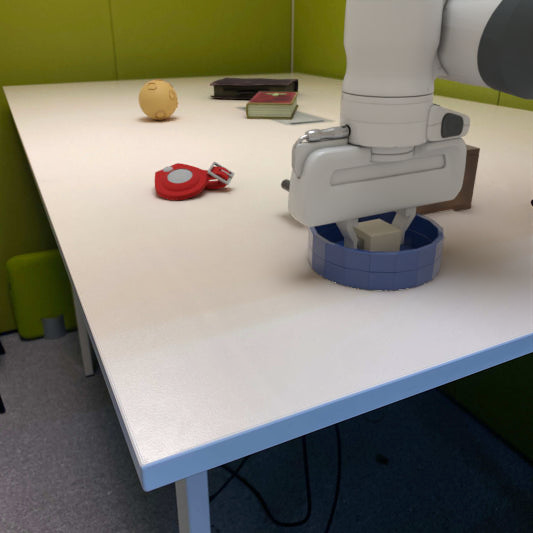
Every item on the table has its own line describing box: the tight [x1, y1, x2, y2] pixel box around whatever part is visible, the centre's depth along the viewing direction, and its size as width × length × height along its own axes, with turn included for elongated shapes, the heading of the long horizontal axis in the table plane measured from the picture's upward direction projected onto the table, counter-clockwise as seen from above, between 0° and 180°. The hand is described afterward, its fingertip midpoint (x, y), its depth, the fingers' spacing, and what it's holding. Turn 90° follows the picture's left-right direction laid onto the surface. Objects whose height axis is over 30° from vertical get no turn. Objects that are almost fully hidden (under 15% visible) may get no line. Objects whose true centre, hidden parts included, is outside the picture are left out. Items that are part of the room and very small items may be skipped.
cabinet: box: [416, 144, 481, 216], centre depth 78 cm, size 14×12×9 cm
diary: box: [209, 77, 299, 100], centre depth 177 cm, size 19×25×5 cm
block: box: [353, 219, 402, 252], centre depth 60 cm, size 4×4×4 cm
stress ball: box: [138, 78, 179, 121], centre depth 140 cm, size 10×10×10 cm
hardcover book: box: [245, 91, 299, 120], centre depth 151 cm, size 12×21×4 cm, turn 173°
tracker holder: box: [154, 161, 235, 201], centre depth 87 cm, size 12×4×10 cm
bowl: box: [307, 211, 445, 292], centre depth 60 cm, size 14×14×4 cm
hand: (374, 248), depth 60 cm, fingers closed on block, 4 cm apart
